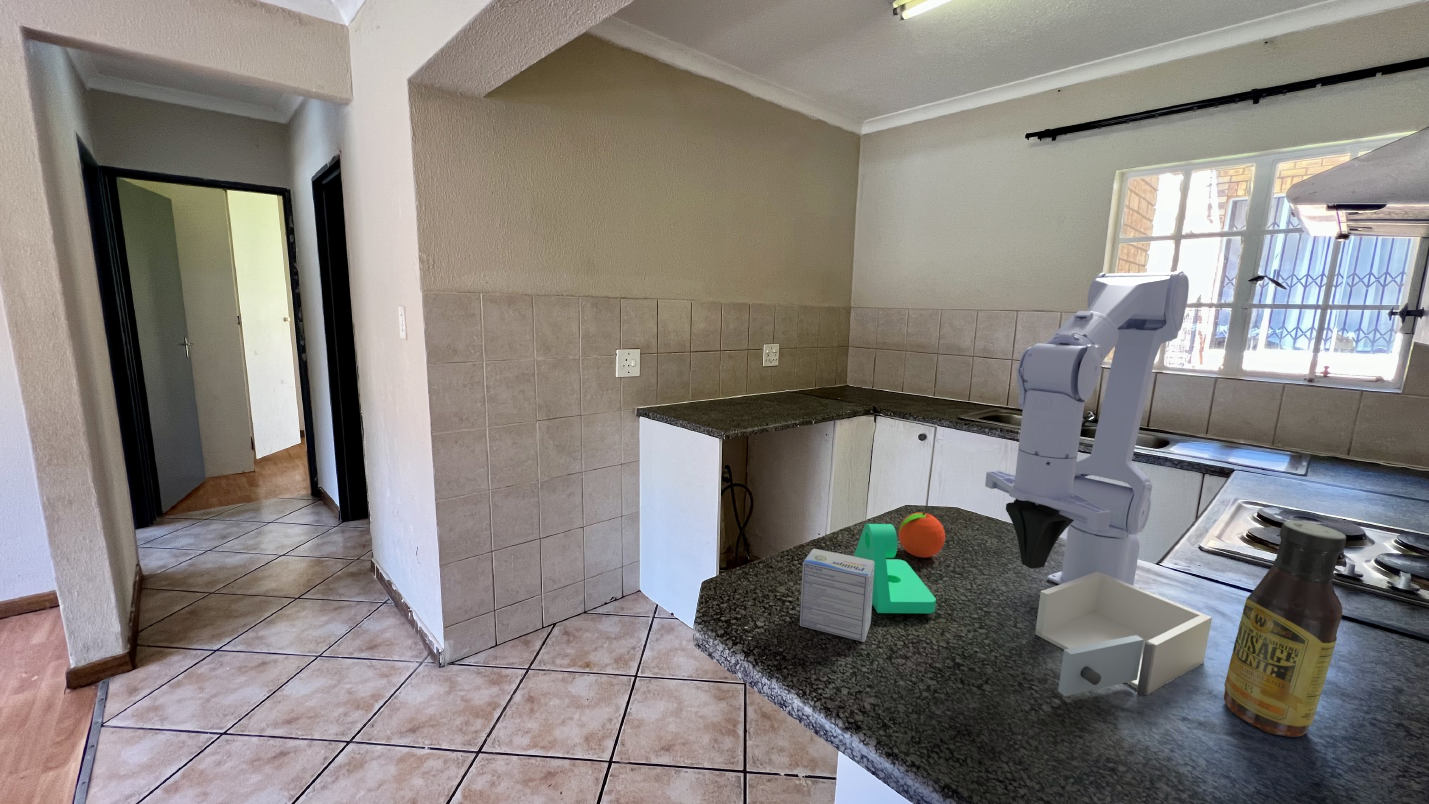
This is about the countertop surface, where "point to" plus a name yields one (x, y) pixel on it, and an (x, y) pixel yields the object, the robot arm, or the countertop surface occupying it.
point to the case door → (1100, 665)
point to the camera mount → (892, 574)
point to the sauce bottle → (1288, 633)
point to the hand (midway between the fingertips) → (1032, 565)
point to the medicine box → (837, 594)
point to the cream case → (1125, 625)
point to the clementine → (921, 535)
